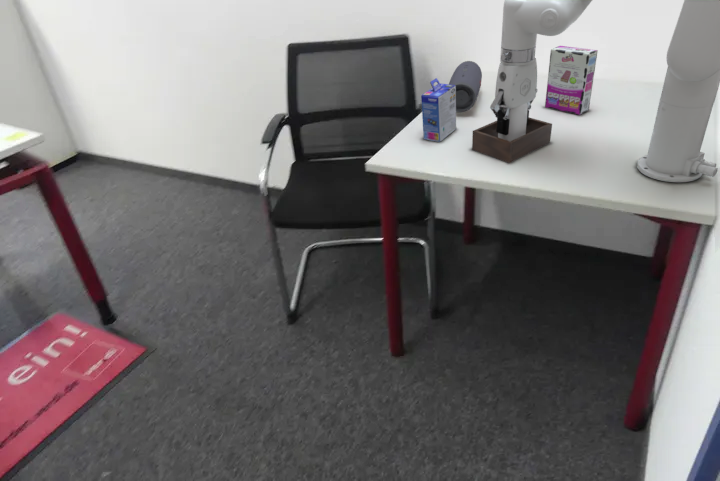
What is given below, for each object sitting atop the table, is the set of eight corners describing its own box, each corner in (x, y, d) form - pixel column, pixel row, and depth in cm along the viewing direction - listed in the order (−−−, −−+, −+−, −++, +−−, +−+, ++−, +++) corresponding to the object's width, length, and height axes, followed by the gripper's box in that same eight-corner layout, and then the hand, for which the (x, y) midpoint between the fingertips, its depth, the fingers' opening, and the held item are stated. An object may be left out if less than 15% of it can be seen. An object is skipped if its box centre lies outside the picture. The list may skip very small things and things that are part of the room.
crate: (550, 142, 133) (552, 123, 131) (509, 163, 126) (510, 143, 123) (512, 131, 141) (513, 113, 139) (471, 149, 134) (472, 130, 131)
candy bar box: (589, 110, 149) (599, 49, 140) (580, 115, 146) (589, 54, 137) (553, 102, 156) (560, 44, 147) (543, 107, 154) (550, 48, 145)
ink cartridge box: (438, 126, 149) (438, 73, 141) (456, 129, 146) (457, 75, 138) (421, 139, 142) (420, 85, 134) (440, 142, 139) (439, 87, 131)
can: (525, 151, 130) (529, 103, 124) (497, 151, 132) (500, 104, 125) (523, 141, 136) (527, 94, 129) (497, 141, 137) (500, 95, 131)
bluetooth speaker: (477, 117, 152) (478, 82, 146) (444, 116, 154) (444, 82, 149) (482, 90, 170) (484, 58, 165) (453, 90, 172) (453, 59, 167)
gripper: (505, 66, 115) (500, 144, 125) (555, 48, 123) (547, 122, 133) (479, 60, 120) (476, 135, 130) (528, 43, 128) (522, 115, 138)
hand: (512, 128), depth 131 cm, fingers closed on can, 6 cm apart
